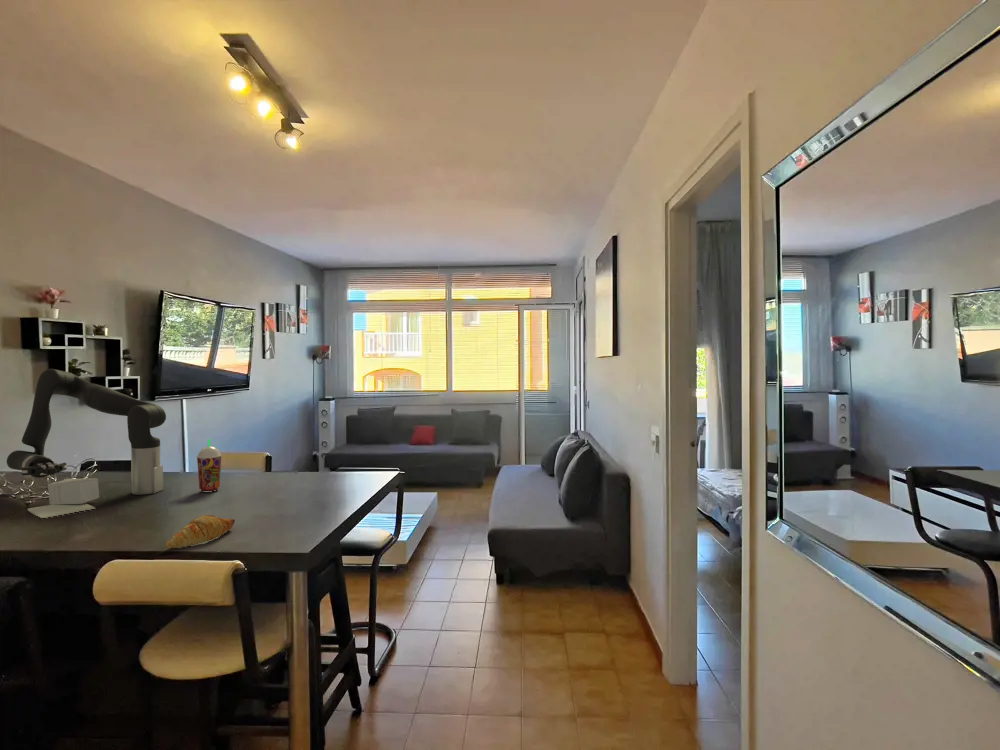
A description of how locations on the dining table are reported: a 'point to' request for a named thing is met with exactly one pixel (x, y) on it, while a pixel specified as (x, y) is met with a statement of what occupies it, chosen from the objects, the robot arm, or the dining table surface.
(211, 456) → the smoothie
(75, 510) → the topple mat
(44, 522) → the dining table surface
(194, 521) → the croissant
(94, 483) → the supplement box
